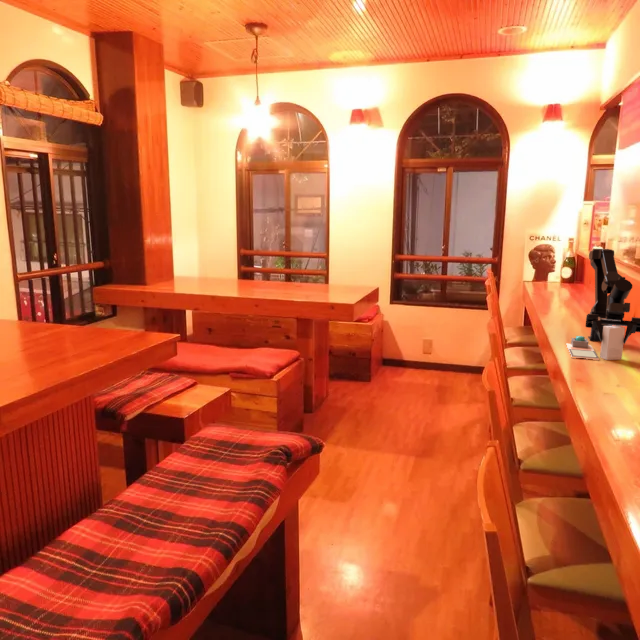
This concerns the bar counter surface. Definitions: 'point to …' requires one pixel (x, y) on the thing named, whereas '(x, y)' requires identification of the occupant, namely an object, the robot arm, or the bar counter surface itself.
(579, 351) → the picture board
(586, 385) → the bar counter surface
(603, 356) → the skincare box
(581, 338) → the button
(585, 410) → the bar counter surface
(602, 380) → the bar counter surface
